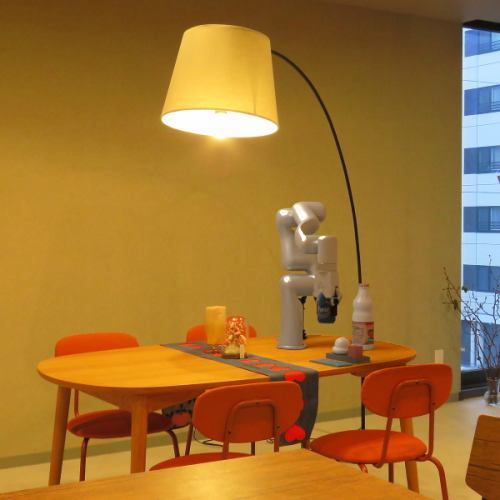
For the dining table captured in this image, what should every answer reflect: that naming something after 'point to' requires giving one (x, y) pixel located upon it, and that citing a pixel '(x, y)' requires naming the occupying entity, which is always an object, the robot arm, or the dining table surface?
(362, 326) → the fruit juice
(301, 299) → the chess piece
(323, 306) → the soda can
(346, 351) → the dome
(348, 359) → the game base
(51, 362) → the dining table surface
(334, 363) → the board
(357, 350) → the red die
